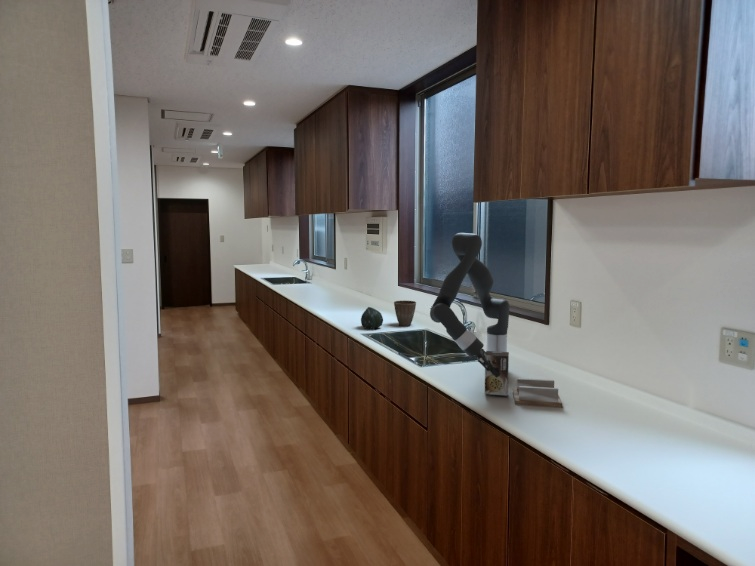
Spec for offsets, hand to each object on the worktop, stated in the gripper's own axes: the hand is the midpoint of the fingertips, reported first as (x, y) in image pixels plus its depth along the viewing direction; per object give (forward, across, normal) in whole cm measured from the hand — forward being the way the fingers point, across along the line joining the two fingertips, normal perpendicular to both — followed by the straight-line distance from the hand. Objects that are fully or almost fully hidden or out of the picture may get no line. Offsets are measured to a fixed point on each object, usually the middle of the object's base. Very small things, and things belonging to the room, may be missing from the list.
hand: (498, 373), depth 206 cm
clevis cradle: (+17, -3, -4) cm, 17 cm away
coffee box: (+5, 0, +6) cm, 8 cm away
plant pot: (-33, +137, +47) cm, 148 cm away
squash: (-47, +124, +62) cm, 146 cm away
